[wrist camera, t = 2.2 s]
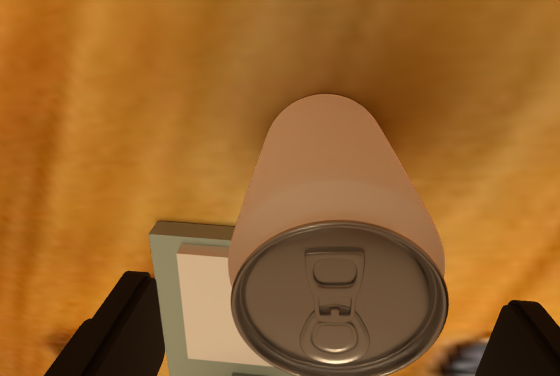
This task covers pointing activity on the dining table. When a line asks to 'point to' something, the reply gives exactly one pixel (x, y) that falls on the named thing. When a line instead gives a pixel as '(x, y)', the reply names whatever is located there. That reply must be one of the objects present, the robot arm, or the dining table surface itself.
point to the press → (200, 302)
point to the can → (335, 249)
